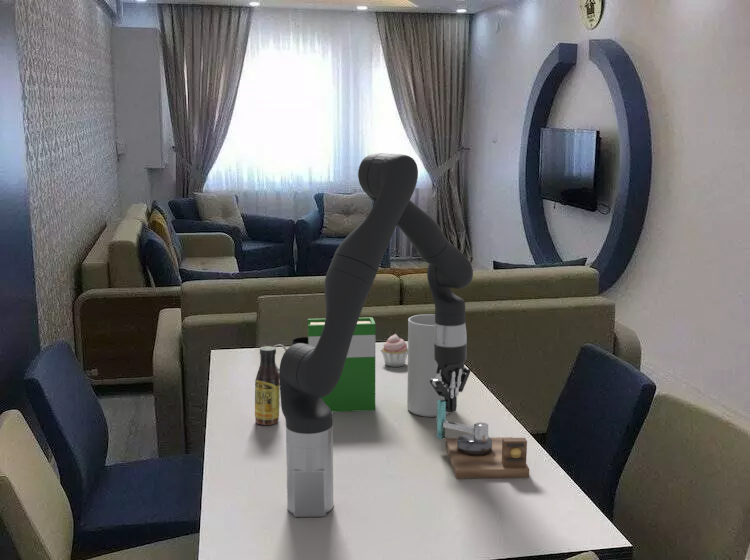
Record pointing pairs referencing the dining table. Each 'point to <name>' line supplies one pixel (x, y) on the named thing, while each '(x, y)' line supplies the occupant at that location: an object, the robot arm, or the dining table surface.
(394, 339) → the cupcake
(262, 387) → the sauce bottle
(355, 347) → the hardback book
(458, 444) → the lever
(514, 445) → the stand
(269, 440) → the dining table surface
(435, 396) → the cylinder vase
